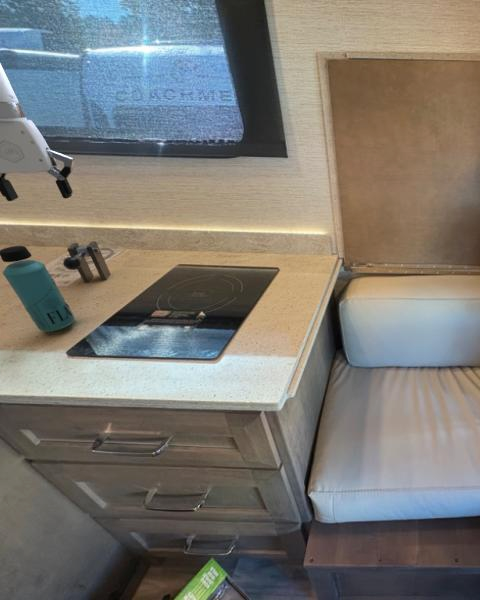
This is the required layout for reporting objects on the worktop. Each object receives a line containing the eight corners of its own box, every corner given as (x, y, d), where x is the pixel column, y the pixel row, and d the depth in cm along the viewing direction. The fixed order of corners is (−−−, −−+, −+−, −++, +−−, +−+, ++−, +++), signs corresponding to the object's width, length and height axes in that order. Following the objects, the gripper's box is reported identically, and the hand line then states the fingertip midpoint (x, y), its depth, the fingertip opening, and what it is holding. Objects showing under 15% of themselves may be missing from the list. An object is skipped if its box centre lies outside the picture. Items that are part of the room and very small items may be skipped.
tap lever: (81, 270, 83) (75, 259, 81) (64, 272, 82) (58, 260, 80) (96, 254, 92) (91, 243, 91) (81, 255, 91) (76, 244, 90)
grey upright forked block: (118, 286, 94) (101, 247, 88) (73, 291, 90) (52, 252, 84) (124, 275, 100) (108, 238, 94) (82, 280, 96) (62, 242, 90)
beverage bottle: (57, 339, 73) (6, 256, 63) (32, 335, 74) (-22, 252, 64) (86, 323, 79) (43, 244, 69) (62, 319, 80) (16, 241, 69)
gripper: (-78, 111, 60) (-21, 205, 69) (45, 114, 67) (83, 200, 76) (-52, 109, 66) (-2, 196, 75) (60, 112, 73) (93, 192, 82)
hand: (41, 198), depth 75 cm, fingers open, 9 cm apart
